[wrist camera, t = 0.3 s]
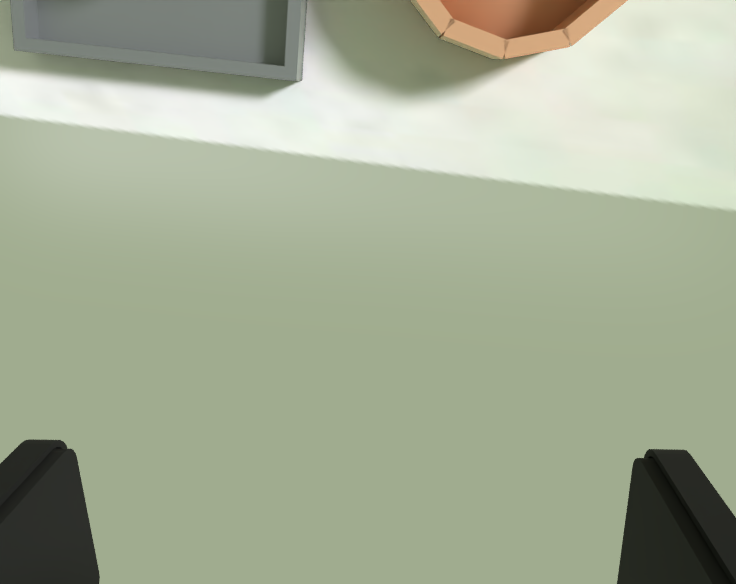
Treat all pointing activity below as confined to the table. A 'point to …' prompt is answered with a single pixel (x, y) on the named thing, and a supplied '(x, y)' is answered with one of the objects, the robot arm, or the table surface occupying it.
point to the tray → (170, 33)
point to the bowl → (514, 23)
